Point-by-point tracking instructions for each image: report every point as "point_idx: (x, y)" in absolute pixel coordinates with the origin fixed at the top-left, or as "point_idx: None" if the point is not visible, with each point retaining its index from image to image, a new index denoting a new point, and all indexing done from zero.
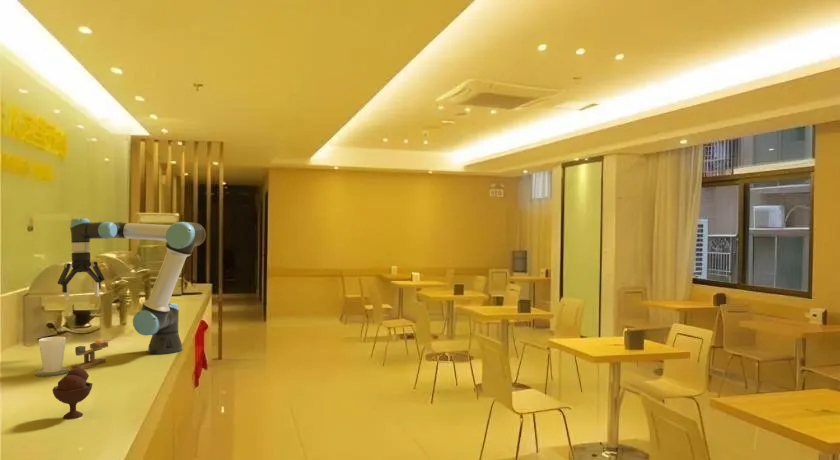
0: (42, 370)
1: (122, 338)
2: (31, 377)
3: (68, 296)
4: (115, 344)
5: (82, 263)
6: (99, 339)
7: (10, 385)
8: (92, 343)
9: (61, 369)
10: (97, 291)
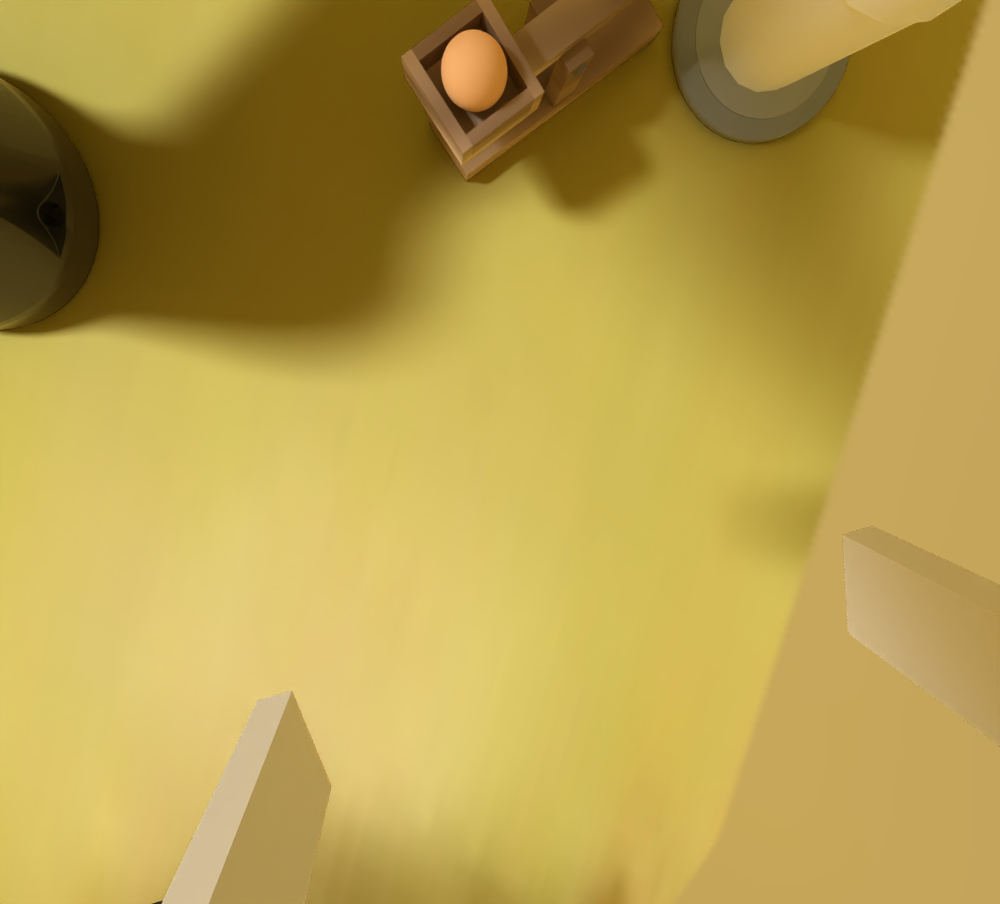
0: (803, 90)
1: (151, 836)
2: None
3: (915, 560)
4: (233, 675)
5: None
6: (476, 41)
7: None
8: (522, 99)
9: (726, 12)
10: (254, 786)
